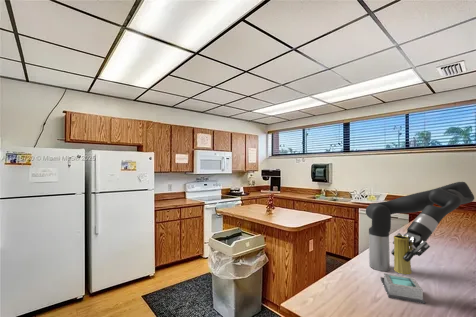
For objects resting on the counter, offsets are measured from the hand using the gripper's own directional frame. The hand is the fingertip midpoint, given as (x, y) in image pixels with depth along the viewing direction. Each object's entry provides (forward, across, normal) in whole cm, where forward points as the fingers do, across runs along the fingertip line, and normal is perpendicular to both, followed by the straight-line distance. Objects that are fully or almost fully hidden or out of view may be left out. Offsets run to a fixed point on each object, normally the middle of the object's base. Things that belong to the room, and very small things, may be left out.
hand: (399, 257), depth 99 cm
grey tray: (+9, +2, -12) cm, 15 cm away
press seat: (+8, 0, -9) cm, 12 cm away
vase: (+3, 0, -5) cm, 6 cm away
